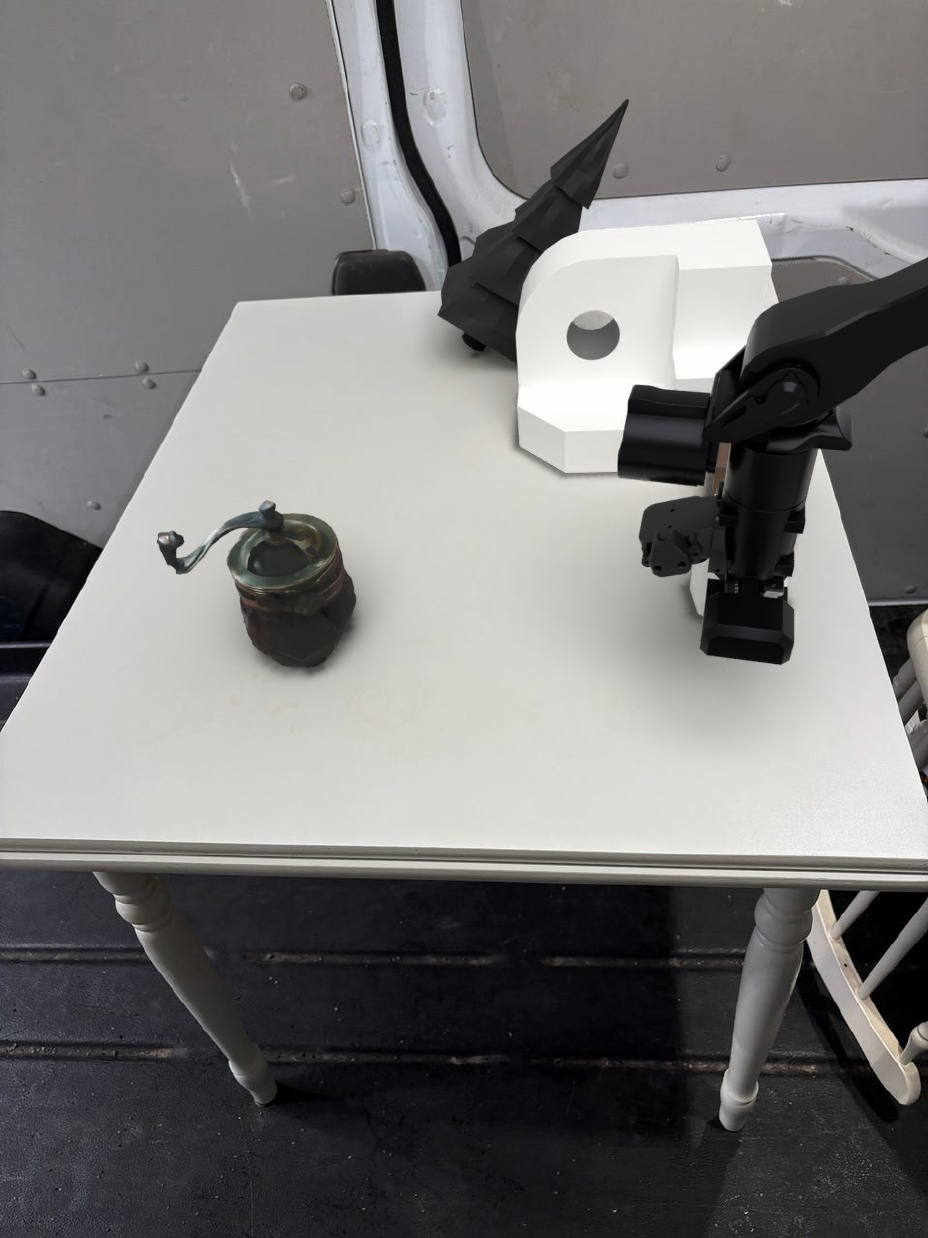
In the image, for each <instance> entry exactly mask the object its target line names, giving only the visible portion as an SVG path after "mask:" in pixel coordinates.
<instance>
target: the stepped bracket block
mask: <svg viewBox="0 0 928 1238" xmlns="http://www.w3.org/2000/svg"><path fill="white" fill-rule="evenodd" d="M772 270H773V263H772V260H771V257H770V254H769V251H768V249H767V246H766V242H765V240H764V238H763V235H762V231H761V229H760V226H759V222H758V221H757V219H740V220H726V221H725V220H724V221H709V222H691V223H690V222H689V223H677V224H676V223H675V224H660V225H645V226H629V227H613V228H612V227H611V228H599V229H589V230H581V231H578V233H576V234H573V235H570V236H568V237H565V238H563V239H561V240H560V241H558V242H557V243H555V244H554V245H552V246H551V247H550V248H548V249H547V250H545V251H544V253H543V254H542V255H541V256H540V257H539V258H538V260H537V261H536V262H535V263H534V264H533V265H532V267H531V269H530V271H529V273H528V275H527V277H526V279H525V282H524V284H523V288H522V293H521V299H520V305H519V313H518V321H517V329H516V347H517V364H516V365H517V377H518V380H517V381H518V395H517V401H516V402H517V405H516V409H517V410H516V411H517V426H518V428H517V429H518V442H519V447H520V448H521V449H523V450H525V451H527V452H528V453H530V454H532V455H534V456H535V457H537V458H539V459H540V460H542V461H544V462H545V463H548V464H549V465H551V466H552V467H554V468H556V469H557V470H559V471H561V472H562V473H564V474H587V473H589V474H590V473H593V474H594V473H618V471H617V461H618V451H619V448H620V445H621V442H622V439H623V432H624V426H625V421H626V416H627V406H628V399H629V396H630V393H631V390H632V387H633V386H634V385H635V384H638V385H650V386H655V387H658V388H661V389H668V390H681V391H693V392H705V393H711V391H712V386H713V382H714V378H715V374H716V372H718V371H719V370H720V369H721V368H722V367H723V366H724V365H725V364H726V363H727V362H728V361H729V360H730V359H731V358H732V357H733V356H734V355H735V354H737V353H738V352H739V351H740V350H741V349H742V348H743V347H744V346H745V345H746V344H747V338H748V336H749V333H750V331H751V328H752V326H753V324H754V322H755V320H756V319H757V318H758V317H759V315H760V314H761V313H762V312H764V311H765V310H766V307H767V302H768V301H767V300H768V296H769V295H768V294H769V288H770V282H771V276H772ZM593 311H594V312H595V311H596V312H602V313H605V314H607V315H609V316H610V317H611V318H612V319H611V320H610V321H609V322H608V323H606V325H603V326H601V327H600V328H595V329H586V328H583V327H580V326H578V325H577V324H575V323H574V322H573V321H574V320H575V319H576V318H577V317H579V316H581V315H582V314H584V313H587V312H593ZM710 395H711V394H710Z"/></svg>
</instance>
